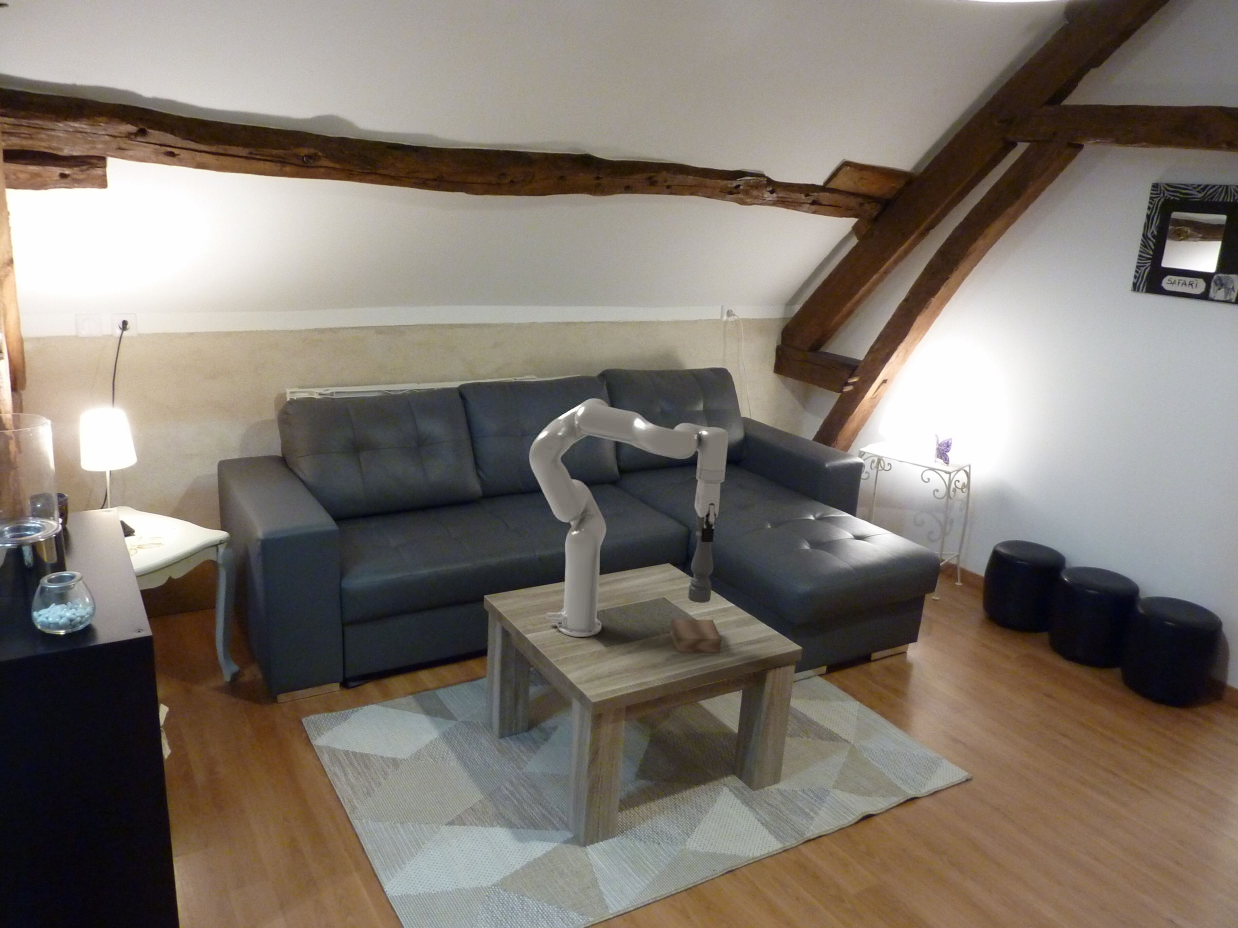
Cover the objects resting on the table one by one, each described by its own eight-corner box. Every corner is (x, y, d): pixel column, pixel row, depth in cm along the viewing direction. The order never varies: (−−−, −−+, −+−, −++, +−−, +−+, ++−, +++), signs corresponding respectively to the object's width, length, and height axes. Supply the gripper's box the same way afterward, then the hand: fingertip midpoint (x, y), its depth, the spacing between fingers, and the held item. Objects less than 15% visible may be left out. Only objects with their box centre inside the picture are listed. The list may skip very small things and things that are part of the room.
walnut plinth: (676, 651, 261) (678, 638, 260) (670, 631, 273) (671, 619, 272) (719, 652, 263) (721, 638, 262) (711, 632, 274) (712, 619, 273)
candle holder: (696, 591, 268) (704, 507, 261) (714, 598, 264) (723, 512, 258) (683, 597, 263) (691, 511, 257) (702, 604, 260) (710, 517, 253)
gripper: (691, 464, 262) (685, 526, 267) (702, 482, 246) (696, 548, 251) (718, 465, 263) (712, 527, 268) (731, 483, 246) (724, 549, 251)
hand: (704, 536), depth 259 cm, fingers closed on candle holder, 5 cm apart
